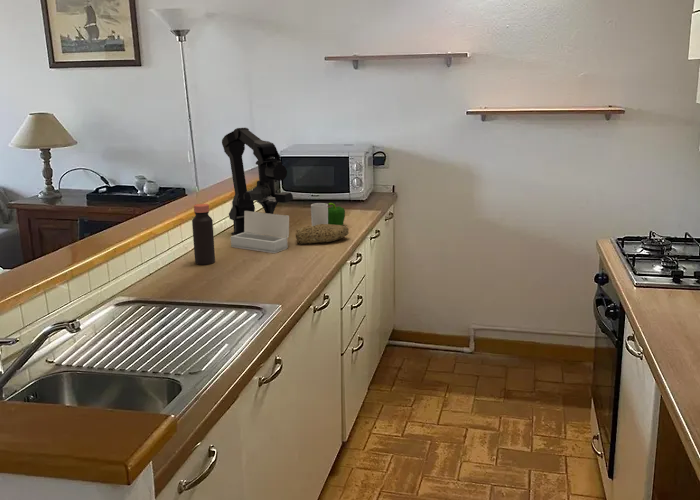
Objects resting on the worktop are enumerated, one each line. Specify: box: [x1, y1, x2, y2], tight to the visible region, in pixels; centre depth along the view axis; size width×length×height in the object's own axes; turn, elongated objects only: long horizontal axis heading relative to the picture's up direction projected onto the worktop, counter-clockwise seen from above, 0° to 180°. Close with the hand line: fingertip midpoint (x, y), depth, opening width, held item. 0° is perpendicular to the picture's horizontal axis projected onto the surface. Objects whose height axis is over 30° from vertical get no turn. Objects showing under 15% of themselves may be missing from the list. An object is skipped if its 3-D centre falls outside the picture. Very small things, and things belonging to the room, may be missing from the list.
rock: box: [295, 224, 350, 245], centre depth 266 cm, size 13×8×20 cm
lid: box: [244, 211, 290, 238], centre depth 260 cm, size 20×8×1 cm
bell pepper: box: [328, 202, 346, 226], centre depth 290 cm, size 8×8×10 cm
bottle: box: [191, 203, 216, 266], centre depth 236 cm, size 7×7×20 cm
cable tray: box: [230, 232, 289, 254], centre depth 257 cm, size 20×8×4 cm, turn 60°
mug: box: [310, 202, 329, 226], centre depth 277 cm, size 10×7×12 cm, turn 166°
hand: (269, 218), depth 261 cm, fingers closed, pressing on lid
